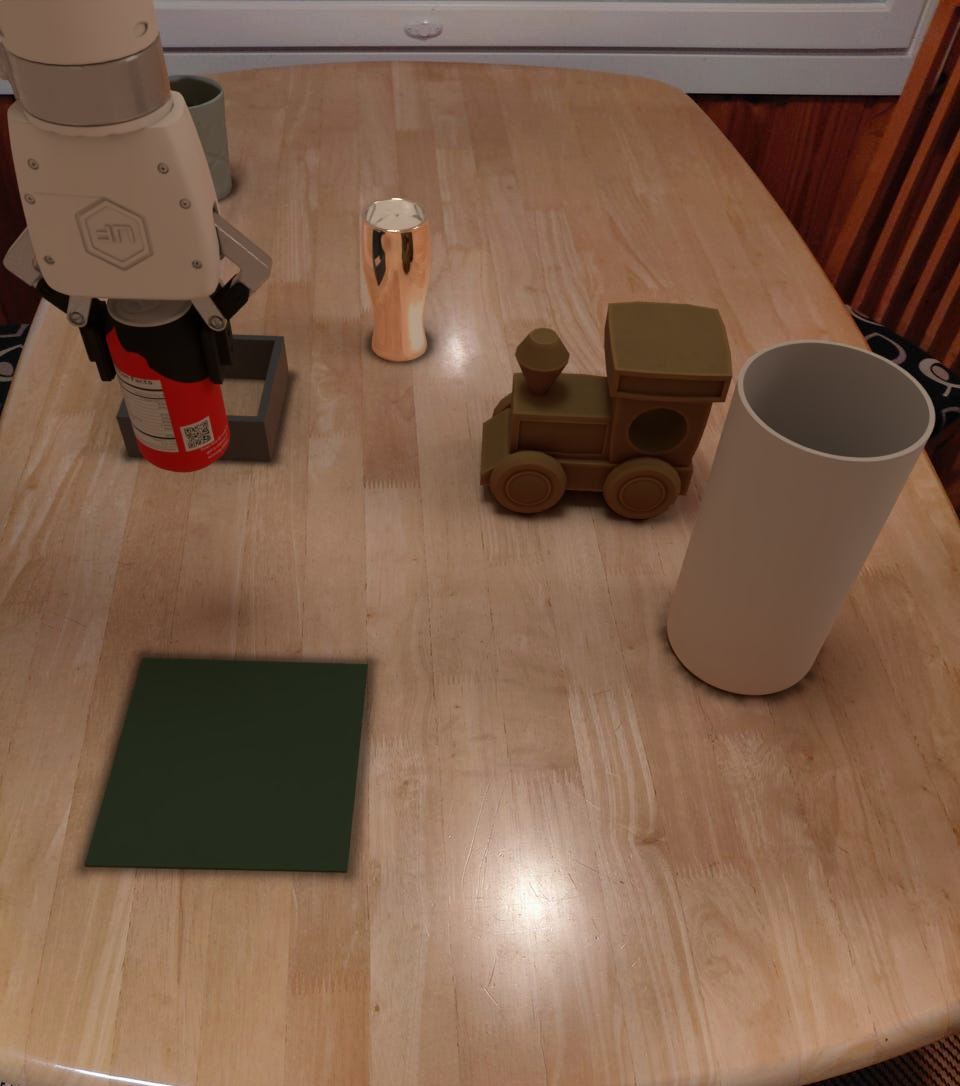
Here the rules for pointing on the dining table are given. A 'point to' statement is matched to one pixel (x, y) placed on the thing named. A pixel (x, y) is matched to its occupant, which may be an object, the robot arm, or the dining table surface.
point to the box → (247, 433)
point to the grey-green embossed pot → (208, 124)
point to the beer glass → (397, 274)
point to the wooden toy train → (610, 412)
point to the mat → (234, 767)
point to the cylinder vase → (793, 509)
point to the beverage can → (167, 382)
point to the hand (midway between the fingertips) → (166, 368)
